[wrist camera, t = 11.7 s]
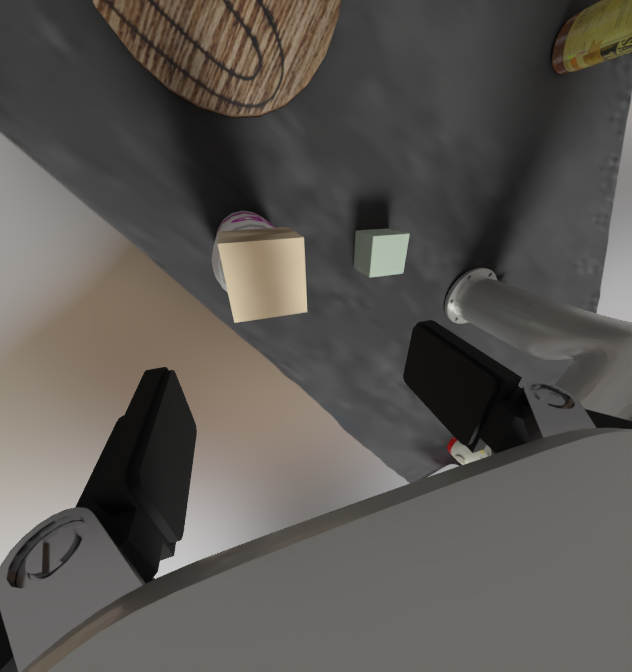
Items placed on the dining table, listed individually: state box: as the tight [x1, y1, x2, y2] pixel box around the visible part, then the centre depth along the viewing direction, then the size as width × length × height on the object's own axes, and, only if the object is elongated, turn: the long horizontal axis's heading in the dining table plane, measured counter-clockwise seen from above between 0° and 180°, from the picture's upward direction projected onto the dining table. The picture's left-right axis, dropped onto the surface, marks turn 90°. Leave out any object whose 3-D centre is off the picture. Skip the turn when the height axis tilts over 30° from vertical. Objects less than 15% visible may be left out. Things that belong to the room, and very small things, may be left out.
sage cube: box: [354, 228, 410, 278], centre depth 40 cm, size 6×6×6 cm
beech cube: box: [218, 227, 307, 323], centre depth 21 cm, size 6×6×6 cm
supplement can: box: [212, 211, 275, 292], centre depth 30 cm, size 8×8×15 cm
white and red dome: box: [447, 437, 491, 465], centre depth 83 cm, size 14×14×15 cm
